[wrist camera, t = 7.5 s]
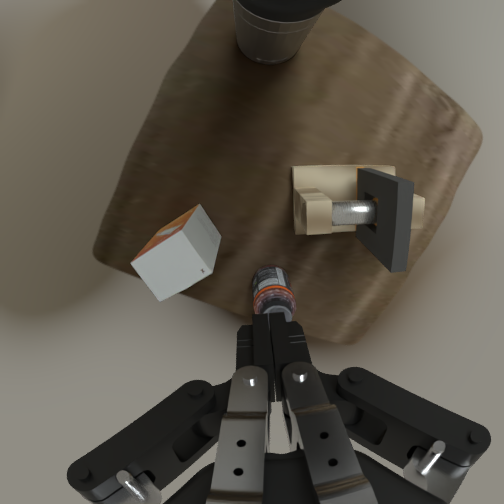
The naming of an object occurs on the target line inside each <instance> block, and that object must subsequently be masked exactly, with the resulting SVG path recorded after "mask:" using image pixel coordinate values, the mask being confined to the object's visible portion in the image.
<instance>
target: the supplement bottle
mask: <svg viewBox="0 0 504 504" xmlns="http://www.w3.org/2000/svg"><path fill="white" fill-rule="evenodd" d="M252 286H253V306H254V312H255V314H263V313H268V321H269V313H275V312H284V314H285V318H286V322H291V320H292V316H293V315H294V313H295V310H296V301H295V297H294V294H293V290H292V287H291V284H290V280H289V277H288V275H287V273H286V272H285V270H284V269H282V268H281V267H279V266H275V265H267V266H264V267H262V268H260V269H259V270H258V271H257V272H256V273H255V275H254V277H253V282H252ZM269 329H270V328H269Z"/></svg>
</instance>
